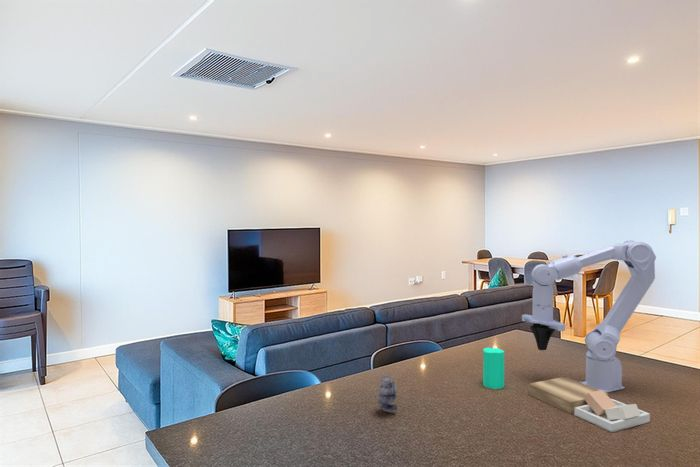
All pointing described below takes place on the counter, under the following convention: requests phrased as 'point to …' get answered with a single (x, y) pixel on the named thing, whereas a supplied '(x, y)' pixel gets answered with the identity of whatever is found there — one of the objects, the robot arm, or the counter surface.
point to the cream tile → (622, 412)
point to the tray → (610, 425)
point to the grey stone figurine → (387, 394)
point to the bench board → (561, 393)
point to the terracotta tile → (599, 402)
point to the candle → (493, 368)
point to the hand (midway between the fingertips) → (542, 349)
